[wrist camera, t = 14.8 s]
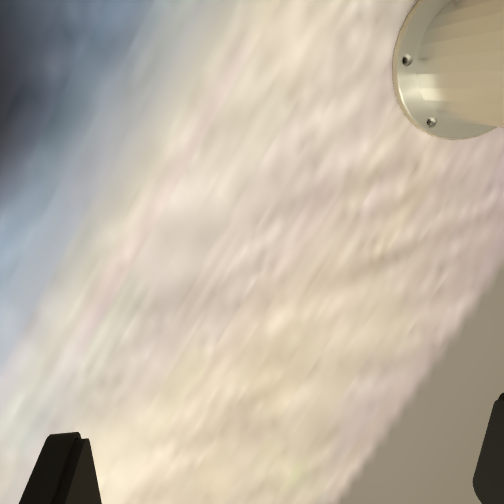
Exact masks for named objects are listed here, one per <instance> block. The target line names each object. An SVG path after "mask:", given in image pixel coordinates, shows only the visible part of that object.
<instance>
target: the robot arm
mask: <svg viewBox="0 0 504 504" xmlns="http://www.w3.org/2000/svg"><path fill="white" fill-rule="evenodd" d="M403 57H404V59H405V62H404V63H402V59H403ZM392 68H393V84H394V89H395V94H396V97H397V100H398V102H399V104H400V107H401V109H402V110H403V112H404V113H405V115H406V116H407V118H408V119H409V120H410V121H411V122H412V123H413V124H414V125H415V126H416V127H417V128H419V129H420V130H422V131H424V132H426V133H427V134H429V135H432V136H436V137H439V138H444V139H450V140H464V139H469V138H474V137H478V136H481V135H483V134H485V133H487V132H490V131H492V130H493V129H495V128H496V127H504V0H419V1H418V2H417V3H416V5H415V6H414V8H413V9H412V11H411V12H410V13H409V15H408V16H407V18H406V20H405V22H404V25H403V27H402V29H401V31H400V33H399V36H398V40H397V43H396V46H395V50H394V57H393V64H392ZM427 120H429V122H428V124H427ZM473 487H474V491H475V493H476V495H477V497H478V498H479V500H480V501H481V503H482V504H504V393H502V394H501V395H500V396H499V399H498V400H496V401H495V403H494V405H493V409H492V413H491V416H490V420H489V423H488V427H487V430H486V434H485V438H484V441H483V445H482V449H481V453H480V456H479V459H478V463H477V467H476V470H475V473H474V477H473ZM19 504H102V502H101V497H100V492H99V487H98V482H97V476H96V471H95V466H94V461H93V456H92V451H91V445H90V441H89V439H88V438H86V439H81V436H80V433H79V432H72V433H61V434H50V435H49V436H48V437H47V439H46V441H45V443H44V446H43V448H42V450H41V453H40V455H39V457H38V460H37V462H36V464H35V467H34V469H33V471H32V474H31V476H30V478H29V481H28V483H27V485H26V488H25V490H24V492H23V495H22V497H21V500H20V502H19Z"/></svg>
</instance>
